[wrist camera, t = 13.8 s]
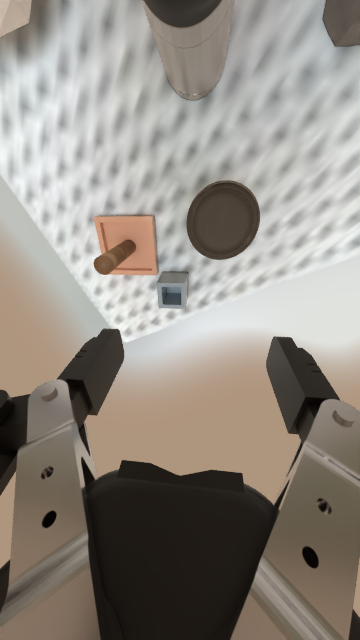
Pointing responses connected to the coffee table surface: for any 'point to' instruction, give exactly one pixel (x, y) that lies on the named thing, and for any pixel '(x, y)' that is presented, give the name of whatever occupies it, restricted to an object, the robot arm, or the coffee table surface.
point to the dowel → (114, 257)
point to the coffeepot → (343, 21)
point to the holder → (173, 290)
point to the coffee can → (223, 220)
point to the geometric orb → (13, 15)
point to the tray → (139, 232)
